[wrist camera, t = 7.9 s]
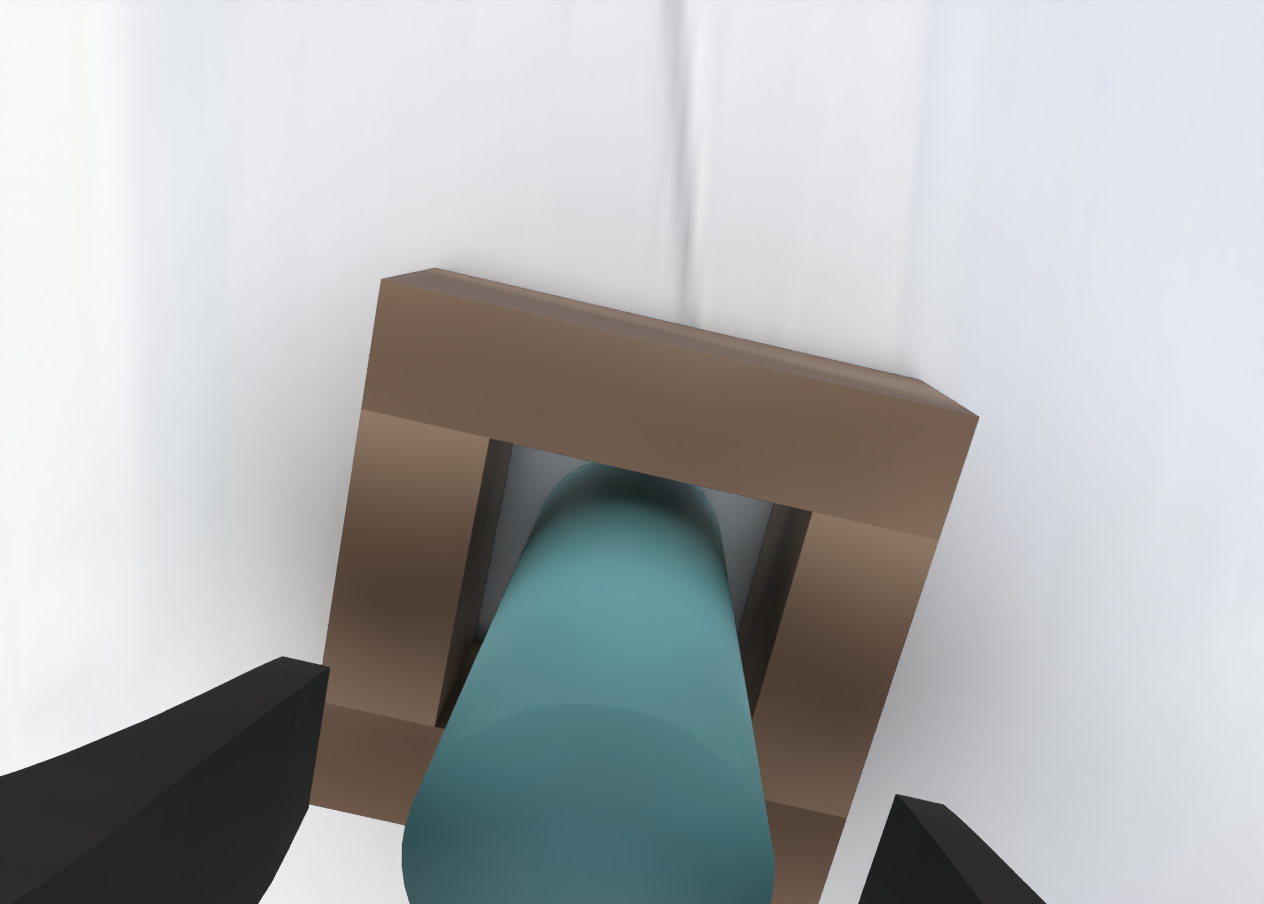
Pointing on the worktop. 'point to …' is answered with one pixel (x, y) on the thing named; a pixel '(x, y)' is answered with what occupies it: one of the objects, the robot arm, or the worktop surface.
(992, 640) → the worktop surface
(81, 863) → the robot arm
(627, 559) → the peg
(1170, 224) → the worktop surface
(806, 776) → the socket block
